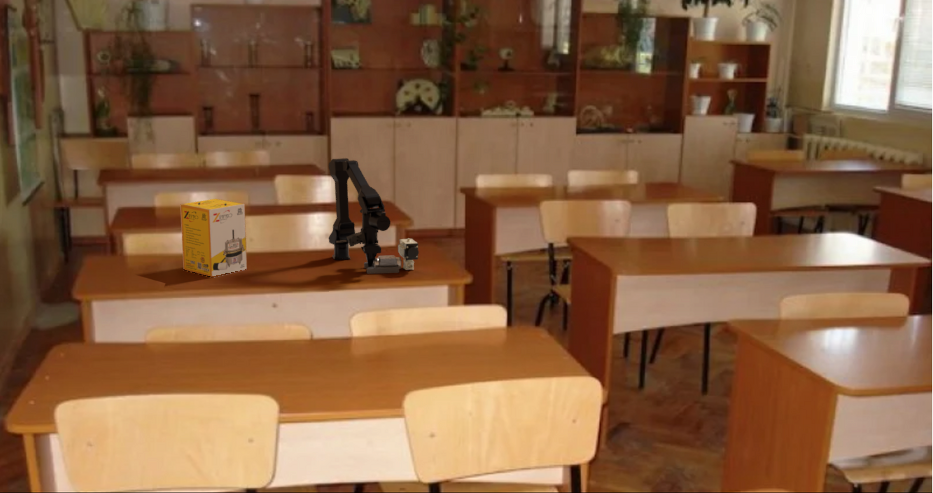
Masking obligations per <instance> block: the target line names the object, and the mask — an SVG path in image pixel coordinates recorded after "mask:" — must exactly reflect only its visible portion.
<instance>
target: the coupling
mask: <svg viewBox="0 0 933 493" xmlns="http://www.w3.org/2000/svg"><path fill="white" fill-rule="evenodd" d="M373 266H374V267H399V270H400V269H402V258H401V256H399V257H397V256H396V255H393V254H391V255H378V257H375V259H374V262H373Z"/></svg>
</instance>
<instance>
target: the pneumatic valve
mask: <svg viewBox="0 0 933 493" xmlns="http://www.w3.org/2000/svg"><path fill="white" fill-rule="evenodd" d="M397 252H398V253H399V257H402V258H403V260H402V262H403V266H402V268H403V269H404V270H405V271H409V270H412V271H413V270H414V269H415V267H414V265H415V264H414V263H415V261H417V260H419V254H420V251H419V243H418V242H417V241H415V240H414V239H413V238H409V237H408V238H399V243H398V244H397ZM414 260H415V261H414Z"/></svg>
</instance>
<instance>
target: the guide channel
mask: <svg viewBox="0 0 933 493" xmlns="http://www.w3.org/2000/svg"><path fill="white" fill-rule="evenodd" d="M363 269H366V274H367V275H368V274H369V275H373V274H391V273H393V274H394V273H395V274H396V273H397V274H398V273H400V269H399V267H374V266H373V264H372V266H371V267H368V263H367V261H366V262H364V263H363Z"/></svg>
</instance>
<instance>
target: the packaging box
mask: <svg viewBox="0 0 933 493" xmlns="http://www.w3.org/2000/svg"><path fill="white" fill-rule="evenodd" d="M179 208H180V225H181V227H180V229H181V243H182V244H181V246H182V264H183V266H182V267H183V268H182V270H183V269H185V270H189V271H193V272H197V273H201V274H204V275H208V276H216V275H221V274H225V273H230V274H232V273H231V272H234V273H236V272H235V271H238V272H241V271H240V270H242V271H245V269H246V270H248V269H247V268H248V267H247V266H248V265H247V264H248V262H247V238H246V237H247V236H246V235H247V234H246V233H247V232H246V230H247V229H246V204H245V203H241V202H236V201H229V200H225V199H220V198H212V199H210V198H209V199H205V200H198V201H192V202H185V203H181V204H180V207H179Z"/></svg>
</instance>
